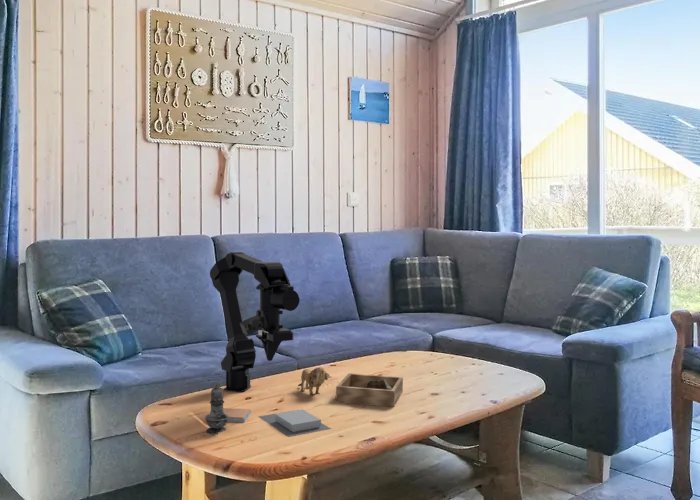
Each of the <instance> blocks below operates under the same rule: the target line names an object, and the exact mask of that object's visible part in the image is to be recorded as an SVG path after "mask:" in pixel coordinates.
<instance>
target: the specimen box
mask: <svg viewBox="0 0 700 500" xmlns="http://www.w3.org/2000/svg"><path fill="white" fill-rule="evenodd" d="M374 380H376V381H381V380H386V381H387V383H388V384H389V386H390V387H391V388H392V390H385V389H372V388H366V386H367V384H368V382H370V381H374ZM403 384H404V378H403V376H392V375H391V376H390V375H389V376H387V375H378V374H377V375H376V374H365V373H364V374H362V373H350V372H349V373H348V374H346V376H345V377H344V378H343V379H342V380H341V381H340V382H339V383H338V384H337V385H336V388H335V401H336V402H340V403H344V404H355V405H357V404H358V405H365V406H366V405H368V406H369V405H371V406H378V407H379V406H380V407H393V408H395V406H396V404H397V403H398V401H399V399H400V397H401V395H402V394H403V392H404V390H403V388H404V385H403Z"/></svg>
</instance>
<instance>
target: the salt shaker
mask: <svg viewBox="0 0 700 500" xmlns="http://www.w3.org/2000/svg"><path fill="white" fill-rule="evenodd" d="M210 399H211V400H210V401H209V404H210V412H209V414H207V415H206V416H205V417H204V419H205V420H206V424H207V426H208V428H207V429H206V433H207V434H208V433H209V435H214V434H217V435H219V433H222V432H225V431H227V428H226V427H225V426H226V425H227V424H228V422H227V421H228V418H229V416H228V415H227V414H224V411H223V408H224V404H225V400H224V388H222V387H220V386H219V383H216V384H215V386H214V387H212V388H211V391H210Z"/></svg>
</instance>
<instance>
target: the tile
mask: <svg viewBox="0 0 700 500" xmlns="http://www.w3.org/2000/svg"><path fill="white" fill-rule="evenodd" d="M294 410H295V411H294ZM294 410H289V412H288V411H284V412H283V411H282V412H283V413H282V412H277V414H276V413H274V414H275V421H276V422H278V423H279V424H281V425H283V426H284V427H286V428H287V429H289V430H290V431H292V432H298V431H304V430H309V429H314V428H319V427H321V423H322V419H320V418H319V417H317V416H315V415H314V414H311V413H310V412H308V411H306V410H305V409H304V408H303V409H301V408H300V409H294Z"/></svg>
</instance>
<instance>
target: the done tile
mask: <svg viewBox="0 0 700 500" xmlns="http://www.w3.org/2000/svg"><path fill="white" fill-rule="evenodd" d="M223 411H224V414H227V415H228V416H229V418H228V421H227V423H246V421H247V420H248V418H249V417H250V416H251V414H252V409H250V408H233V407H232V408H230V407H228V408H227V407H223Z"/></svg>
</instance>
